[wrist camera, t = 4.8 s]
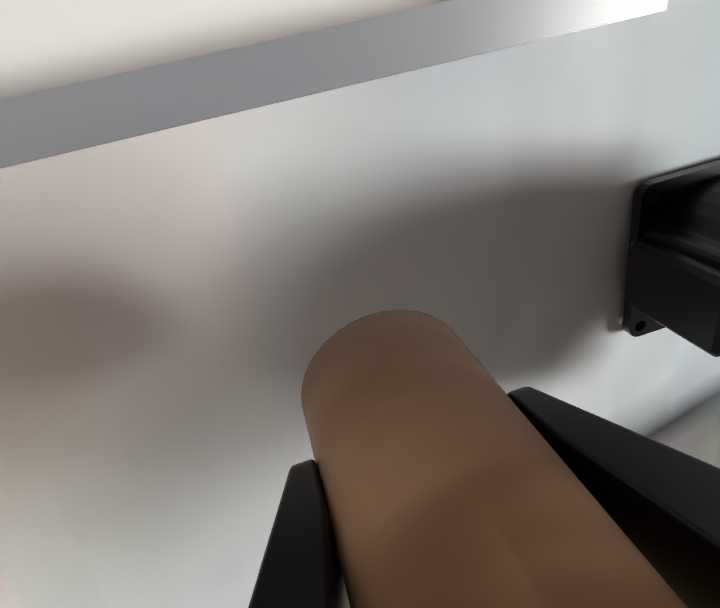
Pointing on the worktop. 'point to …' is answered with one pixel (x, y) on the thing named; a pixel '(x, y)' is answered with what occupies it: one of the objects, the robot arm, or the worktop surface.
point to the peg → (453, 483)
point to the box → (234, 56)
